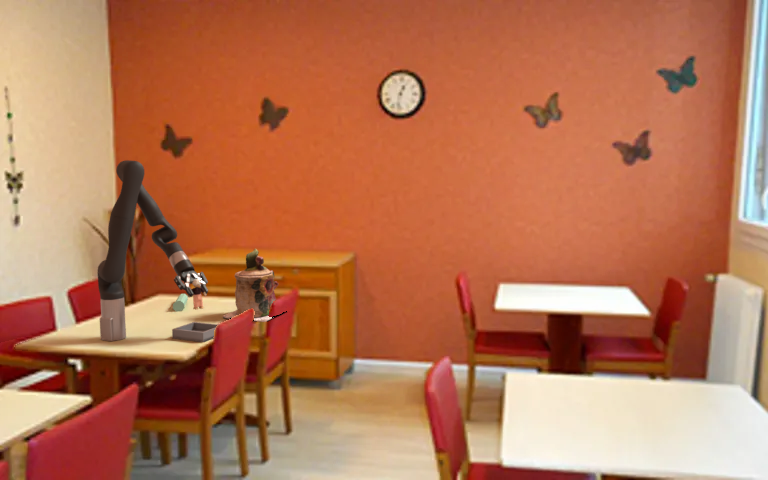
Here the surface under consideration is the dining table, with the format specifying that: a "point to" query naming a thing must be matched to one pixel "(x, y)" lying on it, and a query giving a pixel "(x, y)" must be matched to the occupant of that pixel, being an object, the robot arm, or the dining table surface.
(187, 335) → the tray
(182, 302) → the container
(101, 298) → the robot arm
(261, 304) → the cookie jar
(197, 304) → the grandmother figurine
